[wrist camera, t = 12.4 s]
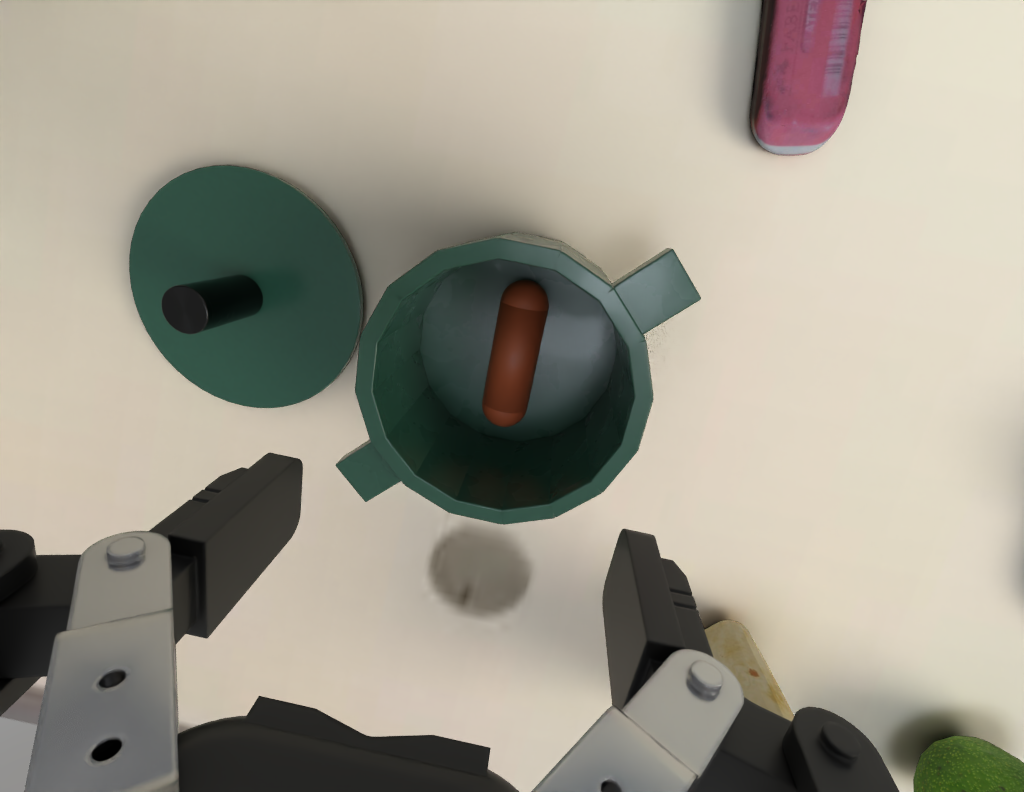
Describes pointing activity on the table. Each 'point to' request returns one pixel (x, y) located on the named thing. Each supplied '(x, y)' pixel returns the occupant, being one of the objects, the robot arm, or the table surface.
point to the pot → (463, 371)
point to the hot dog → (514, 352)
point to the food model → (747, 666)
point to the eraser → (803, 72)
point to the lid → (246, 286)
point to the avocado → (967, 767)
